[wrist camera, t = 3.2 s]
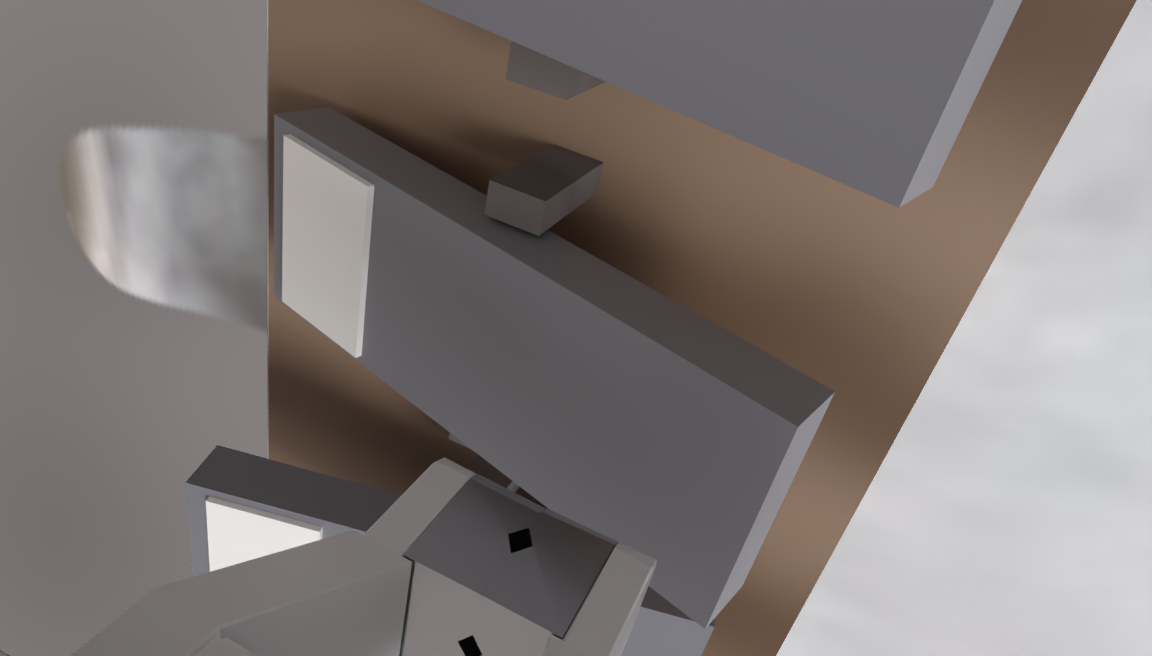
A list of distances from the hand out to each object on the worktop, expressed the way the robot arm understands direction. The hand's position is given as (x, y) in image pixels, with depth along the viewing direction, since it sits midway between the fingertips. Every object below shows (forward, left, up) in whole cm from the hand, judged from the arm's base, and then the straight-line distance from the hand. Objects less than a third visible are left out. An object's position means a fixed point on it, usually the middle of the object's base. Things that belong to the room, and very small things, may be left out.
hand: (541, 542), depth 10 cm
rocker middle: (0, +3, -4) cm, 5 cm away
